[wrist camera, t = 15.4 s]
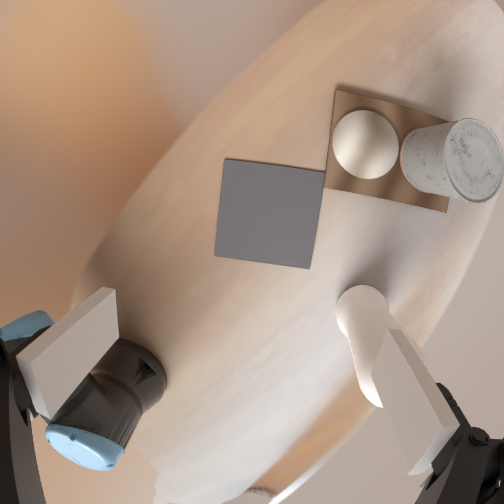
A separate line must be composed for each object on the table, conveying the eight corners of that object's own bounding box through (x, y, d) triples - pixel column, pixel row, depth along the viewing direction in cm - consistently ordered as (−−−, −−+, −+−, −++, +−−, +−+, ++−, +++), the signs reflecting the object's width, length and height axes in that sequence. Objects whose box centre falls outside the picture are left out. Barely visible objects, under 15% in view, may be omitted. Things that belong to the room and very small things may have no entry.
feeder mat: (214, 255, 45) (214, 255, 45) (224, 159, 41) (224, 159, 41) (309, 268, 44) (309, 269, 44) (324, 172, 41) (325, 173, 40)
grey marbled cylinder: (443, 122, 35) (491, 112, 23) (460, 183, 37) (510, 191, 25) (391, 136, 37) (432, 126, 25) (411, 200, 39) (455, 214, 27)
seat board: (322, 187, 41) (324, 187, 39) (334, 91, 37) (336, 88, 36) (442, 211, 40) (448, 213, 38) (453, 125, 36) (459, 124, 35)
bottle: (330, 288, 45) (388, 447, 16) (380, 276, 44) (484, 410, 15) (336, 333, 47) (381, 493, 18) (383, 321, 46) (462, 464, 17)
